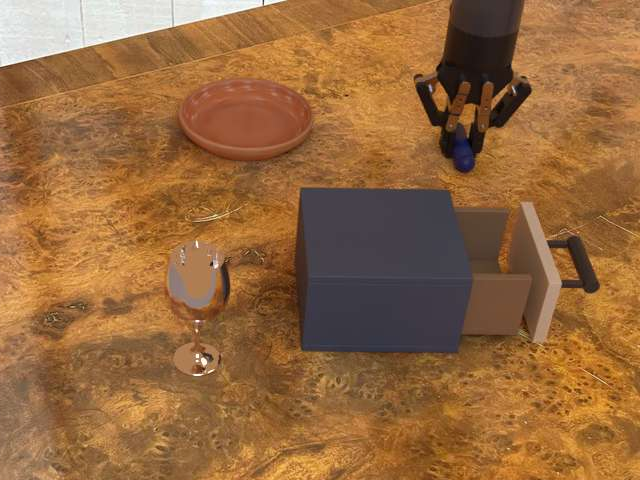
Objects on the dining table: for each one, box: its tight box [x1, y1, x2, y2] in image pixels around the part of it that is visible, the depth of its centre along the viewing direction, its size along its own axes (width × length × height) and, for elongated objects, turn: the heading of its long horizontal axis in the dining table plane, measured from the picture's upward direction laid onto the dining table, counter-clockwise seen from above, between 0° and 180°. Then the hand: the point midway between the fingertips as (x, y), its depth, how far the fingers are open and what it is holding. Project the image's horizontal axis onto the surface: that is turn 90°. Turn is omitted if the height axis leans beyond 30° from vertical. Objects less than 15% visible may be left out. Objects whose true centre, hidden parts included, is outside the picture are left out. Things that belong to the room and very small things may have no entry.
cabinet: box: [294, 186, 474, 354], centre depth 102 cm, size 15×14×9 cm
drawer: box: [454, 201, 601, 344], centre depth 102 cm, size 18×12×7 cm
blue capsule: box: [452, 121, 476, 173], centre depth 125 cm, size 9×2×2 cm, turn 1°
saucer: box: [178, 77, 315, 162], centre depth 127 cm, size 16×16×3 cm
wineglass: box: [163, 240, 231, 377], centre depth 94 cm, size 6×6×12 cm
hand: (459, 153), depth 125 cm, fingers closed on blue capsule, 2 cm apart
